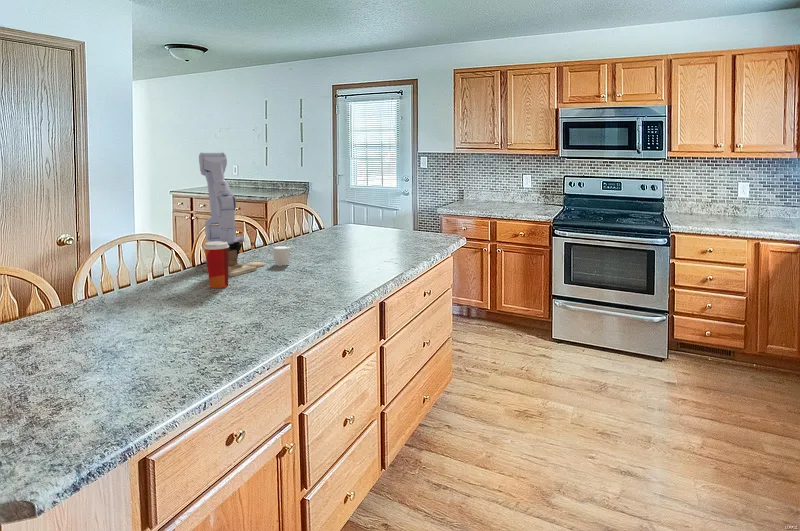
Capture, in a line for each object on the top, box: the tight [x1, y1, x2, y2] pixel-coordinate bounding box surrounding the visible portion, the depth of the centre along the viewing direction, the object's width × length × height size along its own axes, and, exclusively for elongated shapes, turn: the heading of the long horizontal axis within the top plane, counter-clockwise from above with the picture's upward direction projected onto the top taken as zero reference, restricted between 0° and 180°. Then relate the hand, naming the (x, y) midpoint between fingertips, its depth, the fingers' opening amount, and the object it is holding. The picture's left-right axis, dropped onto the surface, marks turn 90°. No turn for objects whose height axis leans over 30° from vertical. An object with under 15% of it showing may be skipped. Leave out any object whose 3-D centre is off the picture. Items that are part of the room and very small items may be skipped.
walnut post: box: [228, 249, 238, 267], centre depth 217 cm, size 4×4×8 cm
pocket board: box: [202, 262, 258, 277], centre depth 218 cm, size 16×12×2 cm
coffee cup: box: [203, 241, 229, 289], centre depth 193 cm, size 8×8×15 cm
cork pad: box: [243, 261, 266, 268], centre depth 228 cm, size 8×8×1 cm
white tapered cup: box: [272, 245, 291, 267], centre depth 229 cm, size 7×7×7 cm
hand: (229, 263), depth 217 cm, fingers closed on walnut post, 4 cm apart
